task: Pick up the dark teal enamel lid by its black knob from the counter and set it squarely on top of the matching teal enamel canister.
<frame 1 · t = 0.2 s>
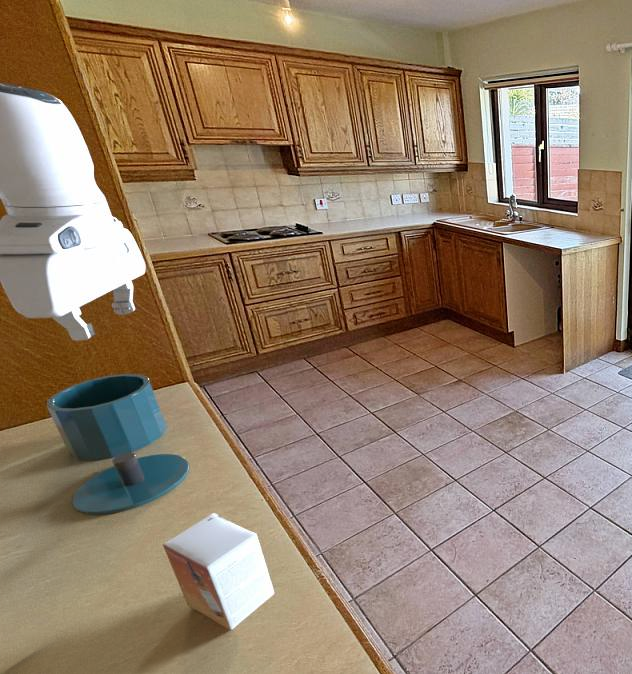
hand: (106, 324, 66), 28 cm above the counter, tool pointing down, fingers open, 8 cm apart
small box: (233, 601, 59), on the counter
canister: (122, 440, 86), on the counter
lid: (135, 483, 76), point 1 cm above the counter
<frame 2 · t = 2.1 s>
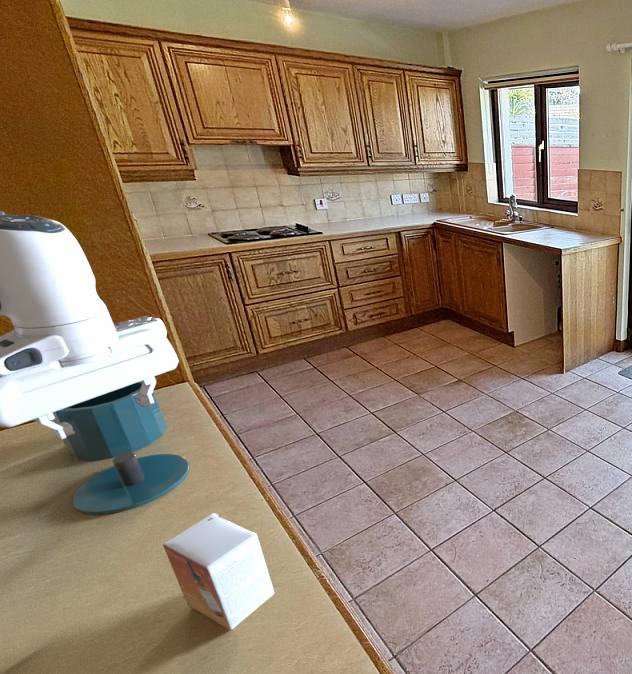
hand: (108, 419, 71), 13 cm above the counter, tool pointing down, fingers open, 8 cm apart
nothing on the counter moved.
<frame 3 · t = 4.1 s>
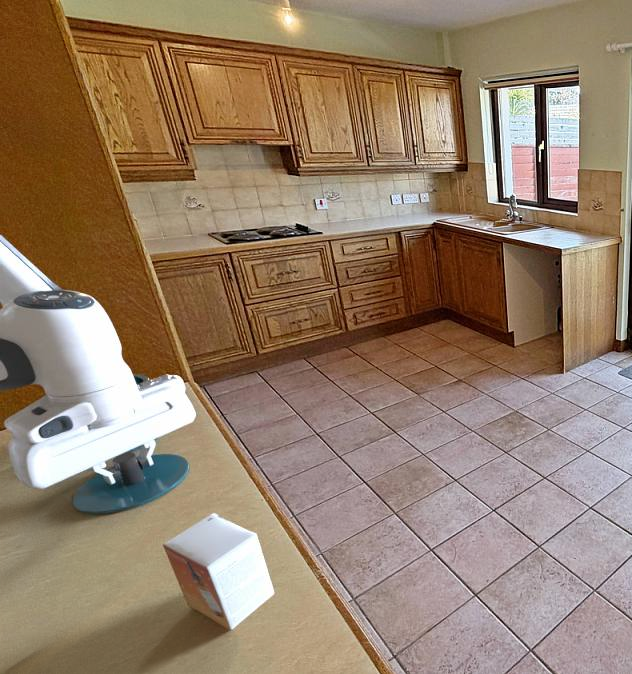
hand: (130, 473, 75), 3 cm above the counter, tool pointing down, fingers closed on lid, 2 cm apart
lid: (135, 483, 76), point 1 cm above the counter, touching gripper
everything else where it was.
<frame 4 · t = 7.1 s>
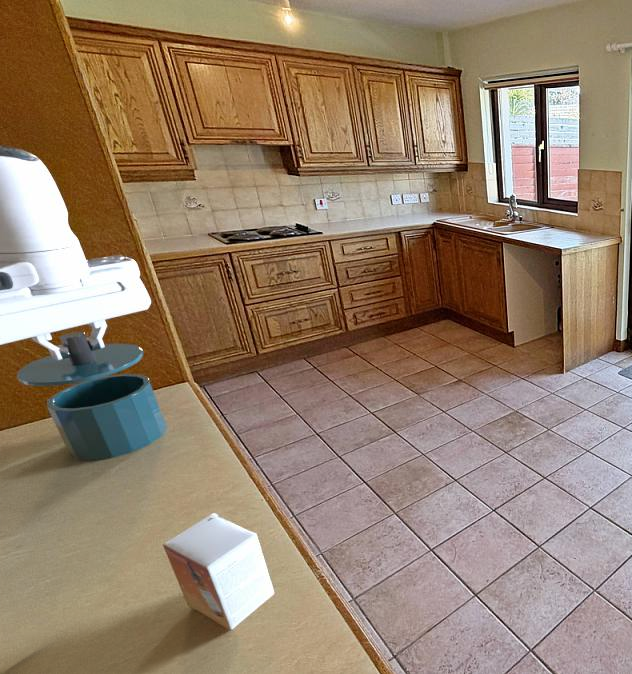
hand: (79, 353, 73), 21 cm above the counter, tool pointing down, fingers closed on lid, 2 cm apart
lid: (84, 364, 74), point 19 cm above the counter, touching gripper
everything else where it was.
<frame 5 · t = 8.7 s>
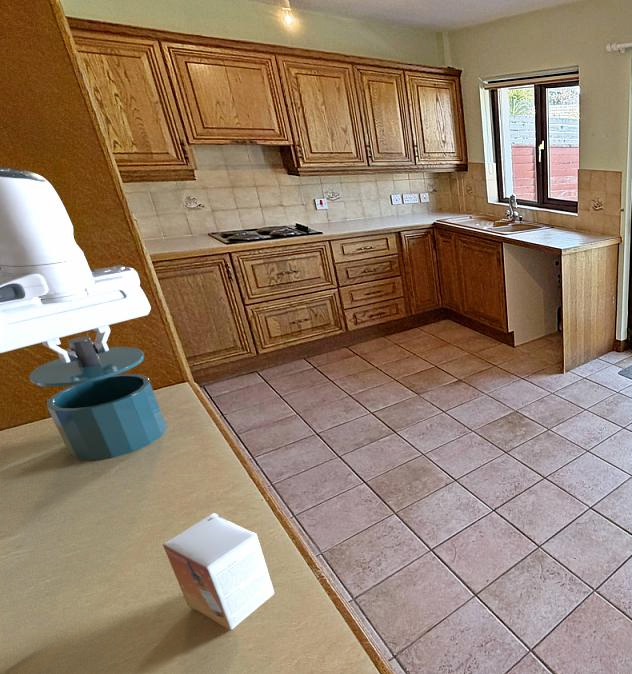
hand: (85, 356, 79), 17 cm above the counter, tool pointing down, fingers closed on lid, 2 cm apart
lid: (90, 366, 80), point 15 cm above the counter, touching gripper
everything else where it was.
when the fingers open (12 cm above the counter, at t = 10.1 s): lid stays where it is, resting on canister.
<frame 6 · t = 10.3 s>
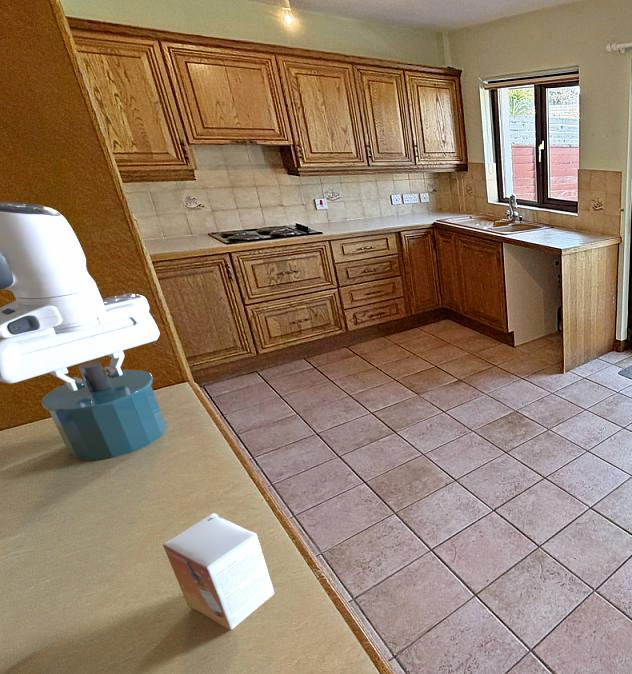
hand: (96, 382, 81), 12 cm above the counter, tool pointing down, fingers open, 4 cm apart
lid: (101, 391, 82), point 10 cm above the counter, touching canister
everything else where it was.
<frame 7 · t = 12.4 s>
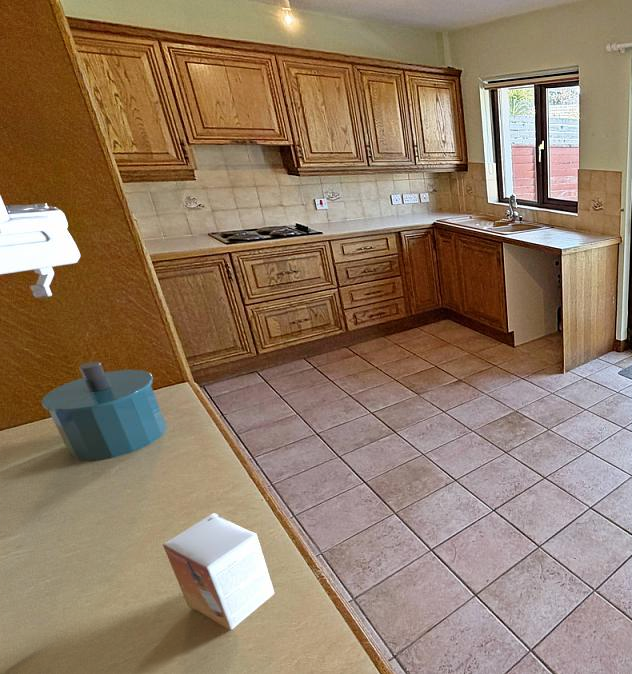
nothing on the counter moved.
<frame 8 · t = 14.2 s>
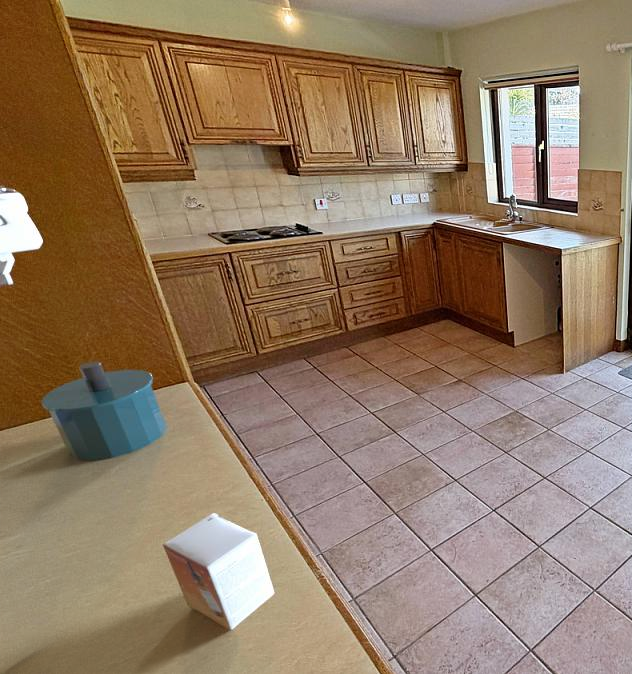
nothing on the counter moved.
at the end: lid 0.1 cm off-centre on the canister, point 10.5 cm above the canister's base; lid tilted 0° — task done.
